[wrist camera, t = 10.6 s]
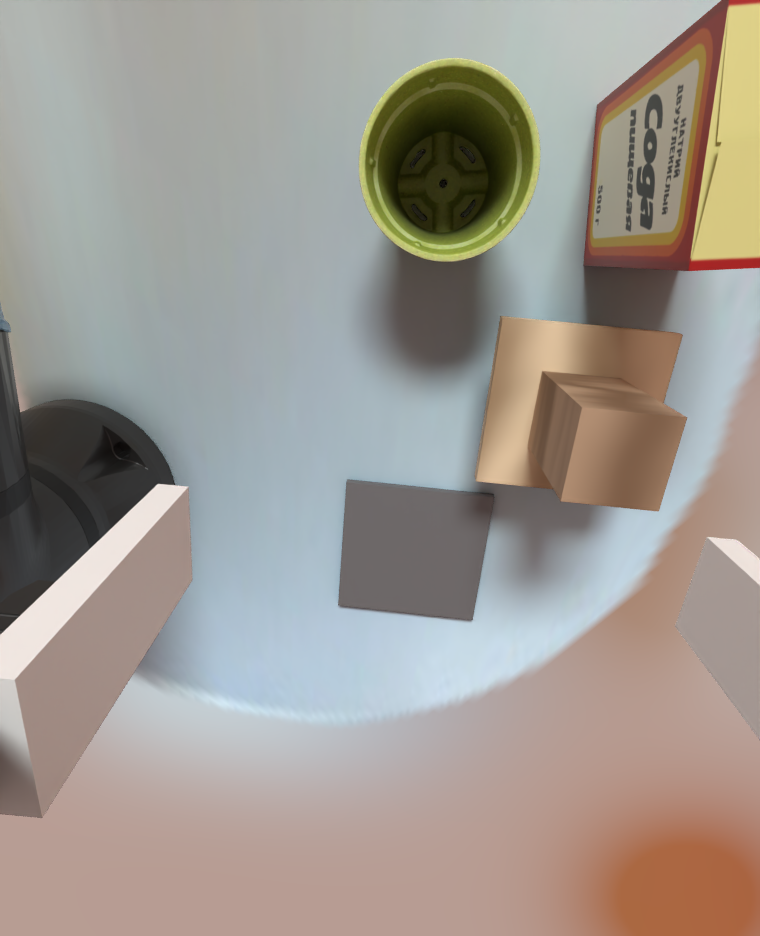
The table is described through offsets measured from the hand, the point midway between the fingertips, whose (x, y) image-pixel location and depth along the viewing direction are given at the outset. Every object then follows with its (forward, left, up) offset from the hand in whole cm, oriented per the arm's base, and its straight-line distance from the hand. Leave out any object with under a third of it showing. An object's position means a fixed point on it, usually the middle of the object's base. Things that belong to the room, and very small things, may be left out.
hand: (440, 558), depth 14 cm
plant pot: (0, +12, -29) cm, 31 cm away
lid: (+10, -1, -24) cm, 26 cm away
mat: (+1, -16, -29) cm, 33 cm away
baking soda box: (+13, +13, -29) cm, 34 cm away
